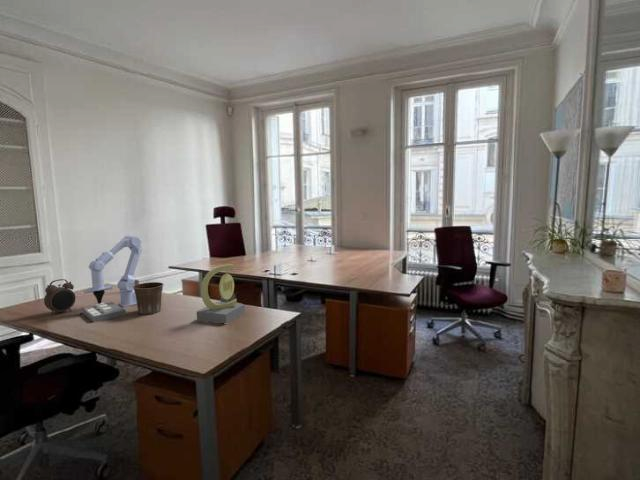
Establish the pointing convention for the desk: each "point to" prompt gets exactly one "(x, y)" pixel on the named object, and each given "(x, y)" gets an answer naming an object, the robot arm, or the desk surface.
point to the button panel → (98, 315)
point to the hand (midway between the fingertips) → (99, 303)
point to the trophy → (219, 309)
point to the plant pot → (148, 297)
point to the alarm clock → (59, 297)
